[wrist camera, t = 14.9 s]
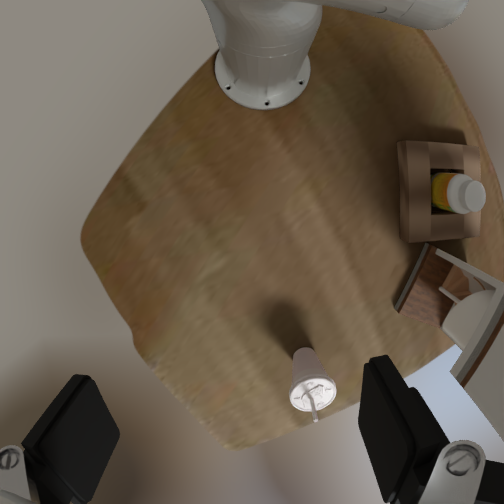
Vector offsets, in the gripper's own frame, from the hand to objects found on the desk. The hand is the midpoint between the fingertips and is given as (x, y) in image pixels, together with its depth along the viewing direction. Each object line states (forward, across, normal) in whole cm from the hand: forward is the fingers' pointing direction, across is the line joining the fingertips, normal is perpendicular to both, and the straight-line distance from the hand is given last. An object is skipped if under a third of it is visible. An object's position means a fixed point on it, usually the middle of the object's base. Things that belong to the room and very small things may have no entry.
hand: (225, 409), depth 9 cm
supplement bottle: (+33, -29, -3) cm, 44 cm away
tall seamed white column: (+33, -28, +12) cm, 45 cm away
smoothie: (+33, -6, +21) cm, 40 cm away
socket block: (+33, -29, -3) cm, 44 cm away
